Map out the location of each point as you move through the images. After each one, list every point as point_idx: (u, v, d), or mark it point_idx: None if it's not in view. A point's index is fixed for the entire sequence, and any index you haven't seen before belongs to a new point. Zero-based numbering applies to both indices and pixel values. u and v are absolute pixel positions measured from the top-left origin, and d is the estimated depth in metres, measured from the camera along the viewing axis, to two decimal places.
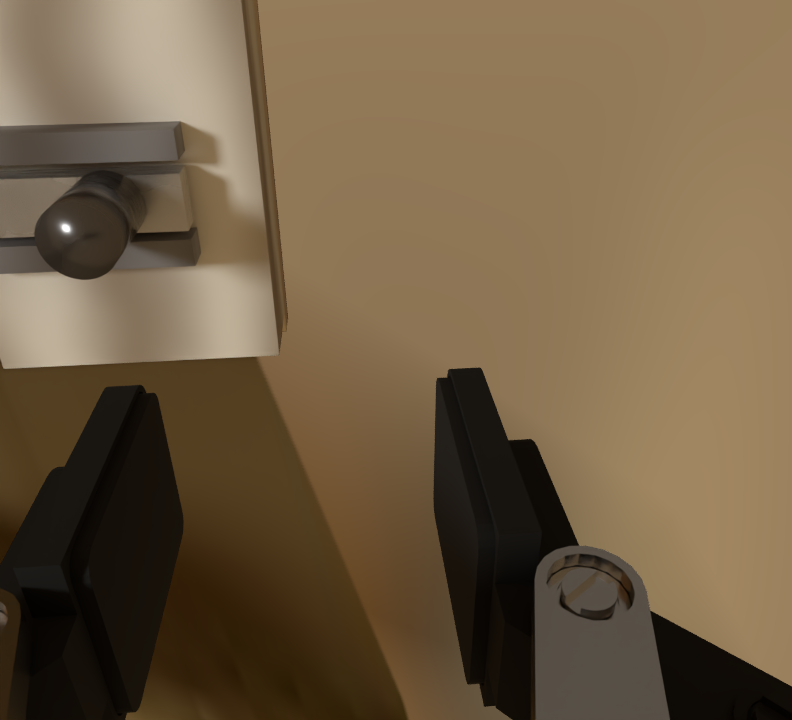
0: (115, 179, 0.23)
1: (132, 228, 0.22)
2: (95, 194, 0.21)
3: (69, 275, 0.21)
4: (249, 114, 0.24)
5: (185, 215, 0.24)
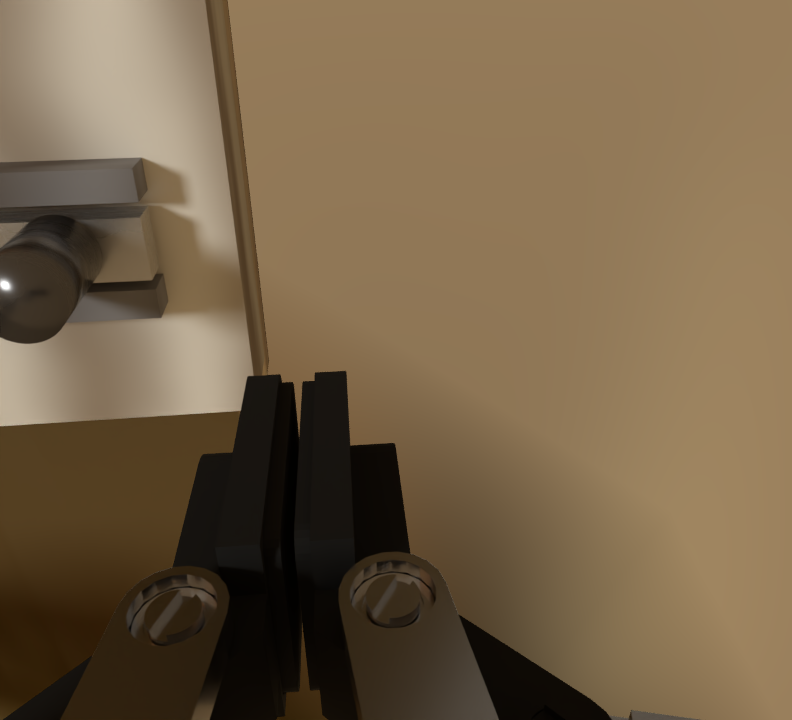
0: (65, 225, 0.20)
1: (85, 282, 0.20)
2: (40, 246, 0.18)
3: (10, 339, 0.18)
4: (219, 149, 0.21)
5: (148, 263, 0.21)
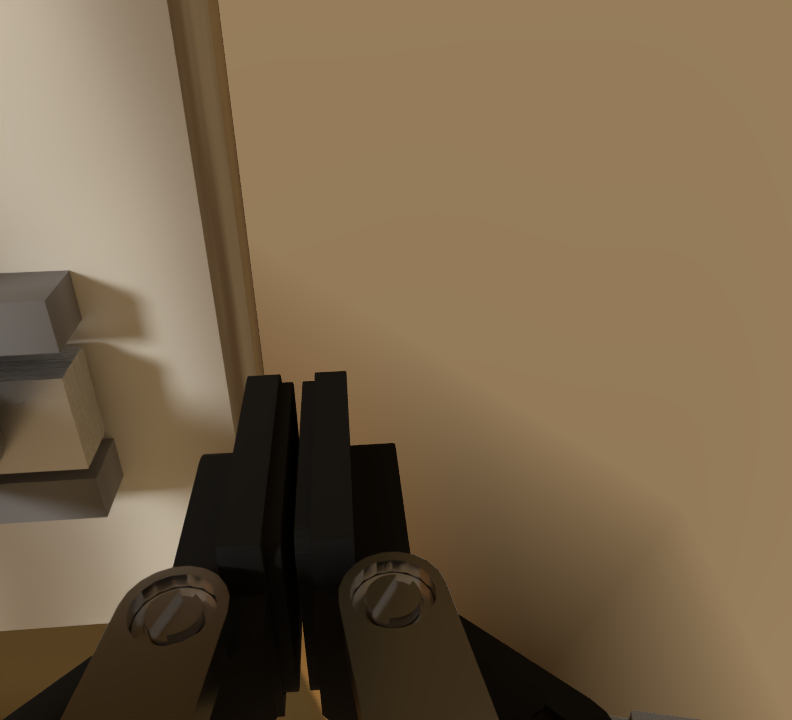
0: None
1: None
2: None
3: None
4: (199, 256, 0.13)
5: (80, 444, 0.13)
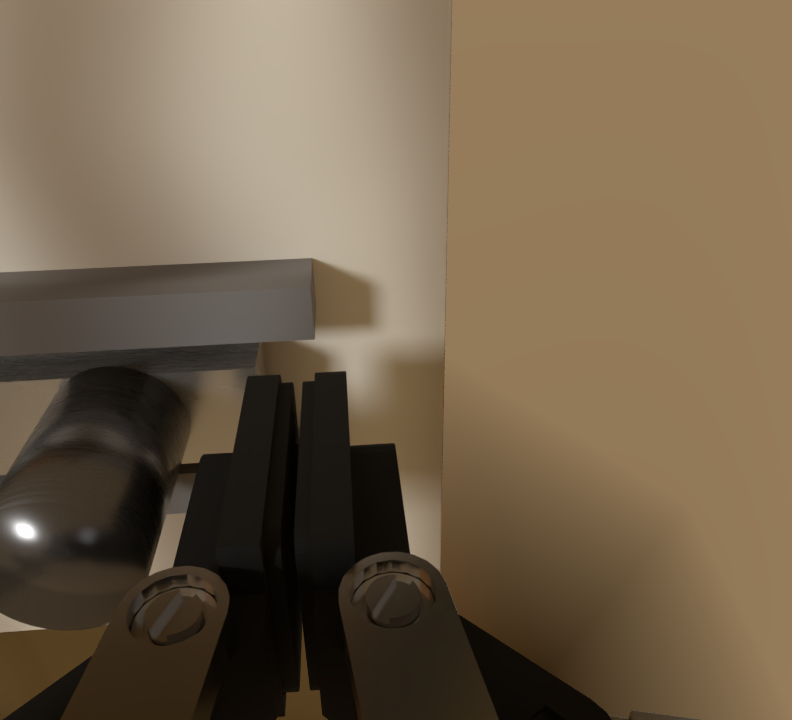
0: (134, 391, 0.12)
1: (169, 496, 0.11)
2: (95, 458, 0.10)
3: (41, 625, 0.10)
4: (439, 244, 0.13)
5: None
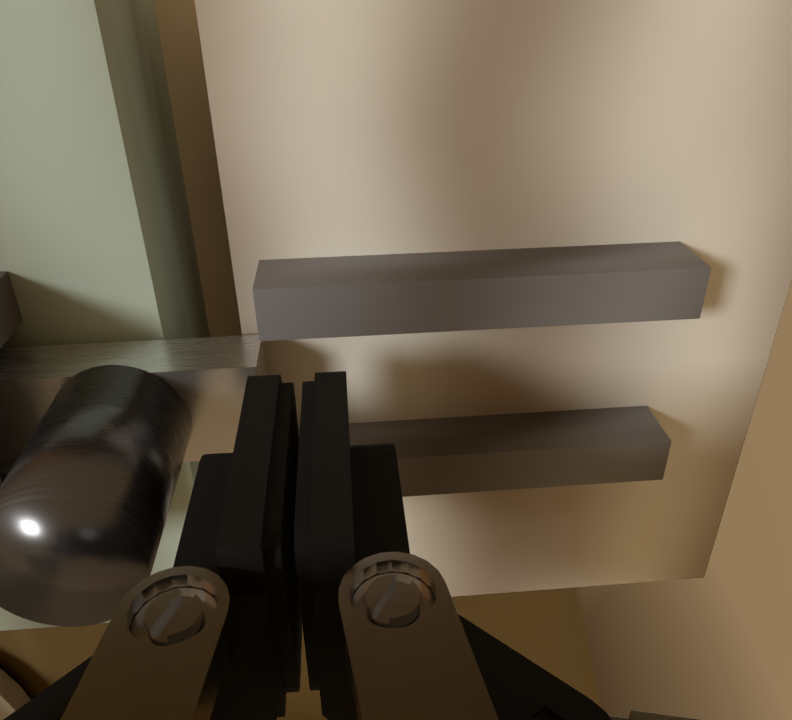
0: (136, 390, 0.12)
1: (171, 494, 0.11)
2: (98, 455, 0.10)
3: (44, 621, 0.10)
4: None
5: None
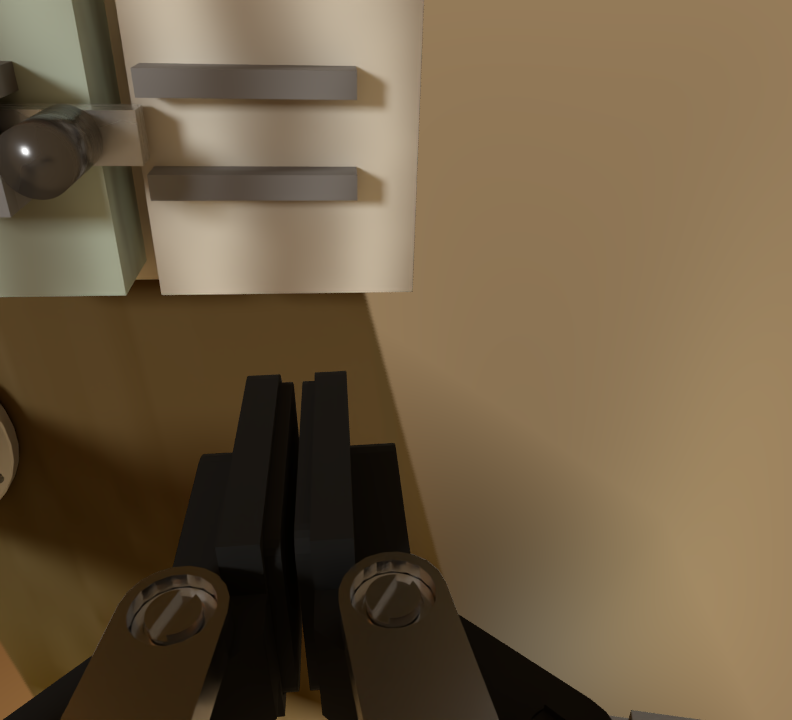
0: (73, 111, 0.25)
1: (87, 156, 0.24)
2: (53, 121, 0.23)
3: (26, 195, 0.23)
4: (418, 62, 0.27)
5: (140, 150, 0.26)
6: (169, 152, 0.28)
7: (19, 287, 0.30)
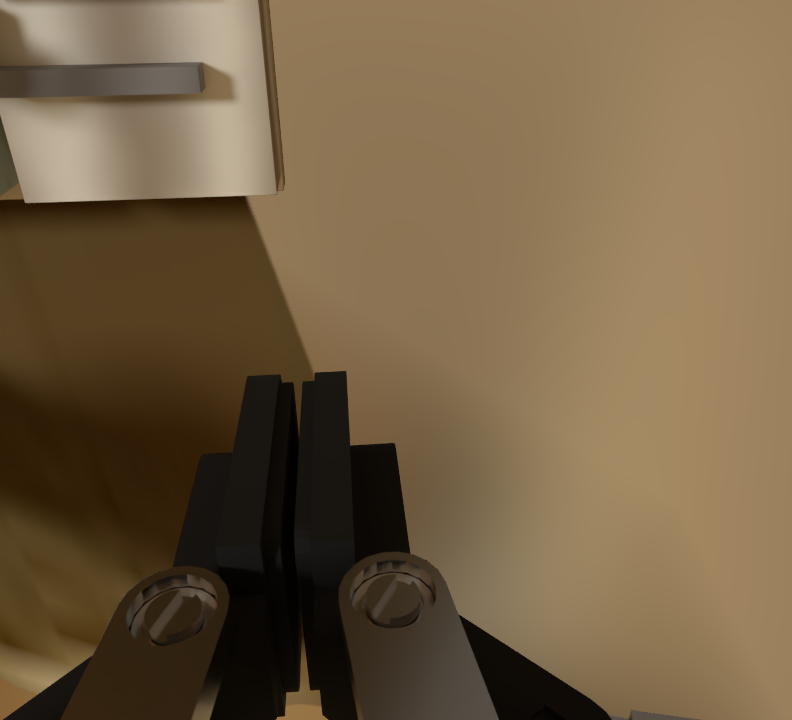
0: None
1: None
2: None
3: None
4: None
5: None
6: (13, 51, 0.28)
7: None
